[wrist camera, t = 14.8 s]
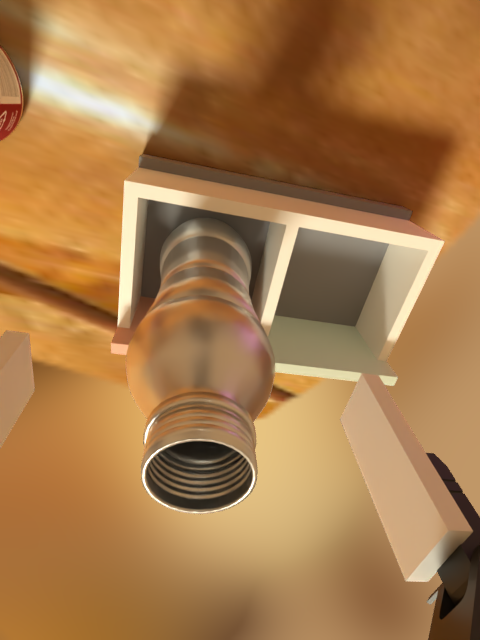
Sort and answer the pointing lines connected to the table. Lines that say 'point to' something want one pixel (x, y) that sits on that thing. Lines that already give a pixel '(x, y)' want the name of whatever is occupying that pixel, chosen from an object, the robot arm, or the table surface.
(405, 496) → the robot arm
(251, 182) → the socket board
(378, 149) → the table surface
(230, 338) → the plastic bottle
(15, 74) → the soda can
